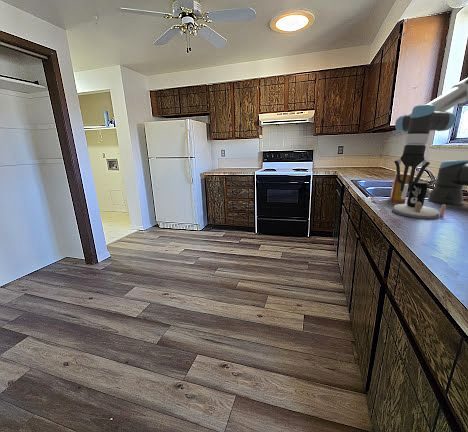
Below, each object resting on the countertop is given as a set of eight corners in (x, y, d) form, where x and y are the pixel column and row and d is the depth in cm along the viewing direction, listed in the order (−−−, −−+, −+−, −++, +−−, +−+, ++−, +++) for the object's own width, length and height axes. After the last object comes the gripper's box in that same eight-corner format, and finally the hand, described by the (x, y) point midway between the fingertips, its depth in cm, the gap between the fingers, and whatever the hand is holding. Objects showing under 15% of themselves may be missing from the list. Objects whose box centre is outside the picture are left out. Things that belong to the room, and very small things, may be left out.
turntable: (393, 205, 126) (395, 194, 125) (434, 209, 118) (436, 198, 117) (394, 213, 112) (396, 201, 111) (441, 218, 104) (444, 206, 103)
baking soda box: (404, 203, 135) (410, 174, 130) (390, 201, 138) (396, 173, 133) (402, 199, 143) (408, 172, 138) (389, 198, 146) (395, 171, 141)
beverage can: (425, 208, 115) (431, 183, 111) (409, 207, 116) (415, 182, 113) (418, 204, 121) (424, 180, 118) (403, 204, 122) (408, 180, 119)
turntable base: (391, 206, 127) (393, 196, 126) (438, 212, 118) (441, 201, 116) (392, 215, 112) (395, 203, 111) (447, 222, 103) (450, 209, 102)
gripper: (432, 144, 104) (419, 198, 111) (396, 144, 110) (386, 195, 117) (436, 144, 98) (422, 202, 104) (397, 144, 104) (386, 198, 111)
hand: (403, 198), depth 111 cm, fingers closed
